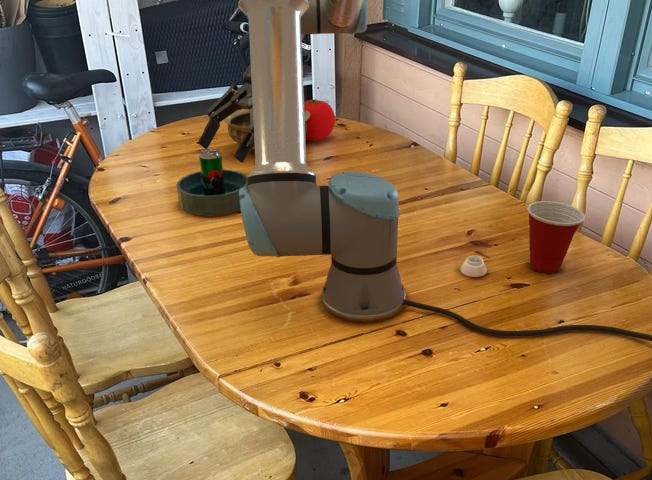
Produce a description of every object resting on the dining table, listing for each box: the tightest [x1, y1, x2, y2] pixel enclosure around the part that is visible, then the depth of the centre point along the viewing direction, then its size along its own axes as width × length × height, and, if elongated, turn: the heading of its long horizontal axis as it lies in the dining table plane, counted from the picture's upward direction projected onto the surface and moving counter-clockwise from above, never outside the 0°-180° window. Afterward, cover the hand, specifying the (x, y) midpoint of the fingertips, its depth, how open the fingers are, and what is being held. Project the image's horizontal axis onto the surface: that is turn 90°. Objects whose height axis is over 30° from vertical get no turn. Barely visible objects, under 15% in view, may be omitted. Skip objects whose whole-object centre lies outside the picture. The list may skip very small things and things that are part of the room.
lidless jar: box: [459, 255, 488, 278], centre depth 136 cm, size 5×3×5 cm
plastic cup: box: [526, 200, 586, 274], centre depth 135 cm, size 11×11×12 cm
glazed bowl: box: [175, 168, 248, 216], centre depth 165 cm, size 17×17×5 cm
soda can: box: [198, 147, 225, 195], centre depth 163 cm, size 5×5×12 cm
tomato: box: [304, 98, 336, 142], centre depth 201 cm, size 12×13×11 cm
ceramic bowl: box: [223, 109, 310, 153], centre depth 194 cm, size 30×24×10 cm
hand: (219, 152), depth 162 cm, fingers open, 13 cm apart
